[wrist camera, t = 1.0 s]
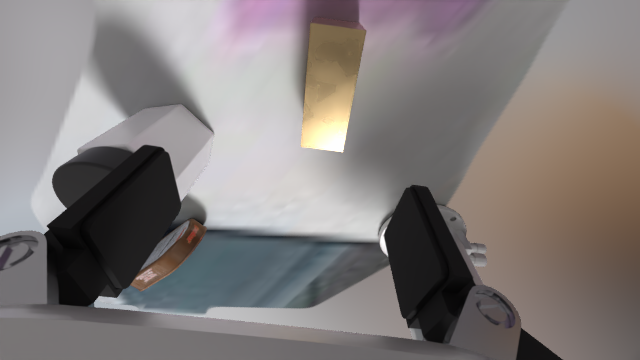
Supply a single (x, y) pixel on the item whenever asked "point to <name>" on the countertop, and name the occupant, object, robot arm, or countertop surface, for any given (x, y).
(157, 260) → the tin
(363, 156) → the countertop surface
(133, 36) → the countertop surface
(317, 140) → the bar
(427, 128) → the countertop surface
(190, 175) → the jar
